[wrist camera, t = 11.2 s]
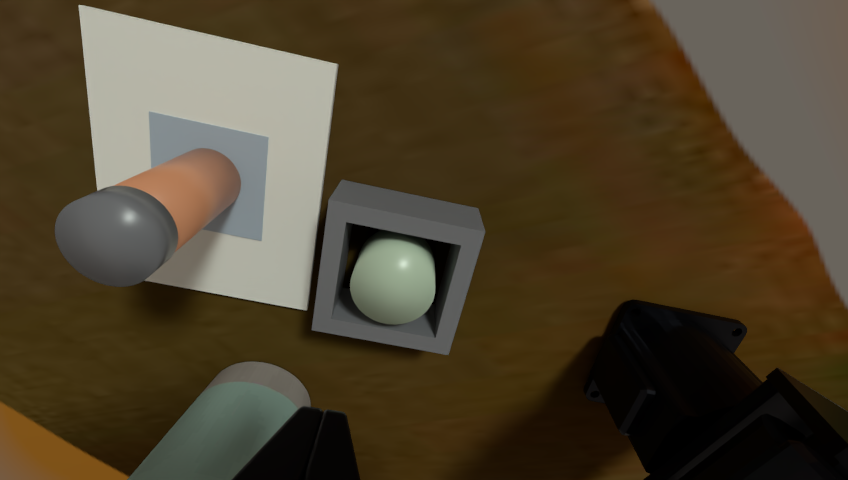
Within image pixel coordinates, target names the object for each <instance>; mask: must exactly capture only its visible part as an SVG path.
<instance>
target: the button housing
mask: <svg viewBox="0 0 848 480" xmlns="http://www.w3.org/2000/svg"><path fill="white" fill-rule="evenodd" d="M353 224H358V225H363V226H368V227H373V228H378V229H383V230H388V231H392V232H397V233H402V234H407V235H412V236H417V237H422V238H427V239H432V240H437V241H442V242H447V243H451V246H450V250H449V253H448V257H447V261H446V265H445V268H444V272H443V276H442V280H441V283H440V287H439V291H438V295H437V298H436V302H435V305H433V304H431V306H430V307H429V309H428V310H427V311H426V312H425V313H424V314H423V315H422V316H421V317H419V318H417V319H416V320H413V321H411V322H408V323H404V324H397V325H393V324H384V323H380V322H377V321H375V320H373V319H371V318H369V317H367V316H366V315H365V314H363V313H362V312H361V311H360V310H359V309H358V307H357V306H356V305H355V303H354V301H353V299H352V296H351V292H350V289H349V288H344V287H343V282H344V276H345V270H346V264H347V257H348V251H349V245H350V239H351V232H352V226H353ZM484 234H485V229H484V226H483V223H482V219H481V216H480V213H479V210H478V208H474V207H469V206H464V205H460V204H455V203H450V202H445V201H441V200H436V199H431V198H426V197H422V196H417V195H412V194H407V193H403V192H398V191H393V190H388V189H384V188H379V187H374V186H369V185H365V184H360V183H355V182H350V181H346V180H341V182H340V183H339V185H338V186H337V188H336V189H335V191H334V193H333V194H332V196H331V197H330V199H329V202H328V209H327V217H326V224H325V232H324V240H323V247H322V255H321V262H320V270H319V277H318V285H317V293H316V300H315V308H314V315H313V323H312V330H313V331H319V332H324V333H330V334H335V335H341V336H346V337H352V338H357V339H363V340H368V341H374V342H379V343H385V344H390V345H396V346H401V347H406V348H412V349H417V350H423V351H428V352H434V353H439V354H445V355H449V351H450V348H451V345H452V341H453V338H454V335H455V331H456V328H457V325H458V321H459V318H460V314H461V311H462V308H463V304H464V301H465V298H466V294H467V291H468V288H469V284H470V281H471V278H472V274H473V271H474V268H475V264H476V261H477V258H478V254H479V251H480V248H481V244H482V241H483V238H484Z"/></svg>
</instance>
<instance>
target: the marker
mask: <svg viewBox="0 0 848 480" xmlns="http://www.w3.org/2000/svg"><path fill="white" fill-rule="evenodd" d="M240 190H241V179H240V175H239V172H238V170H237V168H236V167H235V165H234V164H233V163H232V162H231V160H230V159H228V158H227V157H226V156H225V155H223V154H222V153H220V152H218V151H215V150H212V149H207V148H198V149H193V150H191V151H189V152H186V153H184V154H182V155H180V156H178V157H175V158H173V159H171V160H169V161H167V162H164V163H162V164H160V165H158V166H156V167H153V168H151V169H149V170H147V171H144V172H142V173H140V174H138V175H136V176H133V177H131V178H129V179H127V180H125V181H122V182H120V183H118V184H116V185H114V186H110V187H106V188H103V189H101V190H98V191H96V192H94V193H92V194H89V195H87V196H85V197H83V198H80V199H78V200H76V201H74V202H72V203H70V204H68V205H67V206H66V207H65V208H64V209H63V210H62V211H61V212H60V214H59V216H58V217H57V220H56V224H55V236H56V241H57V244H58V247H59V249H60V251H61V253H62V254H63V256H64V257H65V259H66V260H67V261H68V262H69V263H70V264H71V265H72V266H73V267H74V268H75V269H76V270H77V271H78V272H80V273H81V274H83V275H84V276H86V277H88V278H89V279H91V280H93V281H96V282H98V283H101V284H105V285H109V286H116V287H124V286H131V285H135V284H138V283H140V282H142V281H144V280H145V279H147V278H148V277H149V276H150V275H152V274H153V273H154V272H155V271H156V270H157V269H159V268H160V267H161V266H162V265H163V264H164V263H165V262H167V261H168V260H169V259H170V258H171V257H172V255H173V254H174V253H175V252H176V251H177V250H178V249H179V248H181V247H182V246H183V245H184V244H185V243H186V242H188V241H189V240H190V239H191V238H192V237H193V236H195V235H196V234H197V233H198V232H199V231H200V230H202V229H203V228H204V227H205V226H206V225H208V224H209V223H210V222H211V221H212V220H213V219H215V218H216V217H217V216H218V215H219V214H220V213H222V212H223V211H224V210H225V209H226V208H227V207H229V206H230V205H231V204H232V203H233V202H234V201H235V200H236V199H237V197H238V195H239V193H240Z"/></svg>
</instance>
